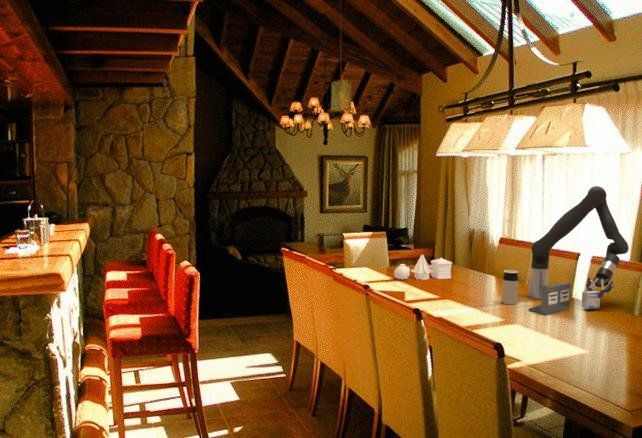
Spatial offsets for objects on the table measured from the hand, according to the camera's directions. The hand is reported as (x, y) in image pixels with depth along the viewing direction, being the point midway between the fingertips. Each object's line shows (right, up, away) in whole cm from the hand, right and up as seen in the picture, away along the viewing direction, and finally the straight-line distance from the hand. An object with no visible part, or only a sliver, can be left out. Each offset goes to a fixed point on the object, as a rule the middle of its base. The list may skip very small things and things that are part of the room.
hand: (593, 295), depth 313 cm
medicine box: (-2, -7, 0) cm, 7 cm away
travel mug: (-40, -6, +14) cm, 43 cm away
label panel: (-24, -7, 0) cm, 25 cm away
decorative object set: (-77, 0, +86) cm, 115 cm away
